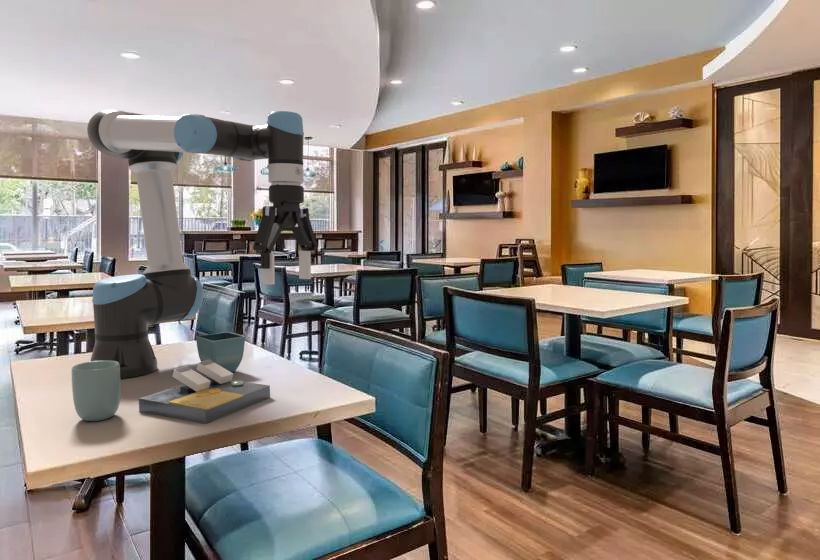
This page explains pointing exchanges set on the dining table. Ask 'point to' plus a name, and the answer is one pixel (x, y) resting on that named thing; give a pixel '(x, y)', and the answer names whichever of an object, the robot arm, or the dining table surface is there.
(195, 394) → the panel
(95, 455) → the dining table surface
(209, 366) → the rocker
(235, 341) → the flower pot
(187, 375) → the rocker
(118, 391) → the cup
